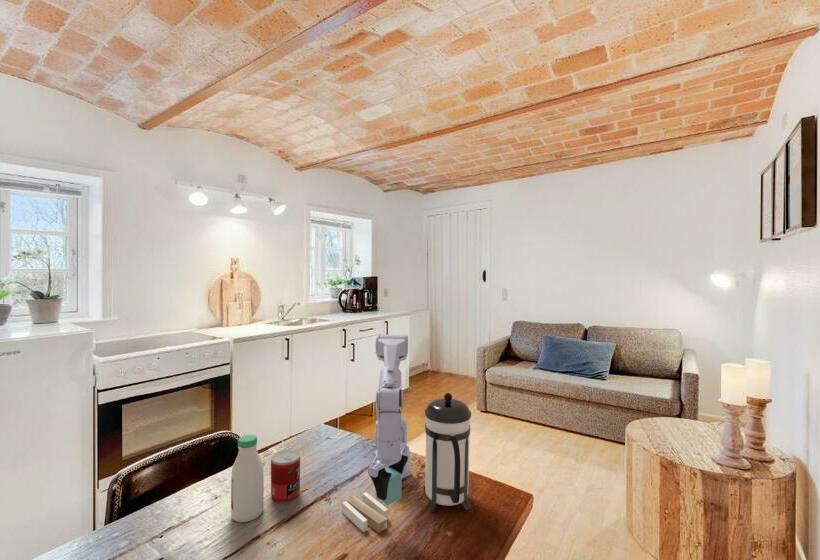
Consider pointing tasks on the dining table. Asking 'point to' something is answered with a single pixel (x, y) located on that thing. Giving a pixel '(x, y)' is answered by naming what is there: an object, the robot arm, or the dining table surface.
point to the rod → (368, 514)
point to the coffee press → (447, 452)
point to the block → (393, 487)
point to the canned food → (285, 475)
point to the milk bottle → (247, 481)
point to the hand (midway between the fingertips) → (388, 491)
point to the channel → (357, 517)
